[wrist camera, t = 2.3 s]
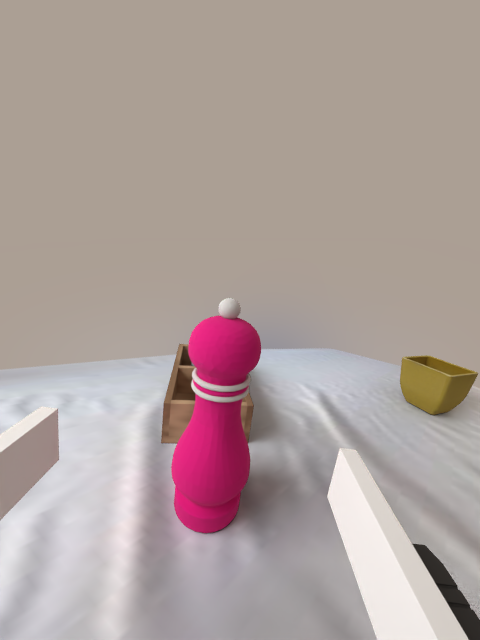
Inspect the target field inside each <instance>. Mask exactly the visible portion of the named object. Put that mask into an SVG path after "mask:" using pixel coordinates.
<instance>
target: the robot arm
mask: <svg viewBox="0 0 480 640" xmlns="http://www.w3.org/2000/svg"><path fill="white" fill-rule="evenodd" d="M58 460H59V439H58V409H56V408H48V407H40V408H38V409H37V410H35V411H34V412H33V413H31V414H30V415H28V416H27V417H25V418H24V419H22V420H21V421H19V422H18V423H17V424H15V425H14V426H12V427H11V428H9V429H8V430H6V431H5V432H3V433H2V434H1V435H0V520H1V519H2V518H3V517H4V516H5V515H6V514H7V513H8V512H9V511H10V510H11V509H12V508H13V507H14V506H15V505H16V504H17V502H18V501H19V500H20V499H21V498H22V497H23V496H24V495H25V494H26V493H27V492H28V491H29V490H30V489H31V488H32V487H33V486H34V485H35V484H36V483H37V482H38V481H39V480H40V479H41V478H42V477H43V476H44V475H45V473H46V472H47V471H48V470H49V469H50V468H51V467H52V466H53V465H54V464H55V463H56V462H57V461H58ZM327 497H328V500H329V503H330V506H331V509H332V511H333V514H334V517H335V520H336V523H337V526H338V529H339V532H340V534H341V537H342V540H343V543H344V546H345V549H346V552H347V554H348V557H349V560H350V563H351V566H352V569H353V572H354V574H355V577H356V580H357V583H358V586H359V589H360V592H361V595H362V597H363V600H364V603H365V606H366V609H367V612H368V615H369V617H370V620H371V623H372V626H373V629H374V632H375V635H376V638H377V640H480V620H479V618H478V617H477V615H476V614H475V612H474V611H473V610H471V608H470V605H469V603H468V602H467V600H466V599H465V597H464V595H463V594H462V592H461V591H460V590H458V588H457V585H456V583H455V582H454V580H453V579H452V577H451V576H450V574H449V573H448V571H447V570H446V568H445V567H444V565H443V564H442V563H441V562H440V561H439V560H438V558H437V557H436V556H435V555H434V554H433V553H432V552H431V551H430V550H429V549H428V548H427V547H426V546H425V545H418V544H412V543H411V541H410V540H409V538H408V536H407V535H406V533H405V531H404V530H403V528H402V526H401V525H400V523H399V521H398V520H397V518H396V516H395V514H394V513H393V511H392V509H391V508H390V506H389V504H388V503H387V501H386V499H385V498H384V496H383V494H382V493H381V491H380V489H379V488H378V486H377V484H376V482H375V481H374V479H373V477H372V476H371V474H370V472H369V471H368V469H367V467H366V466H365V464H364V462H363V461H362V459H361V457H360V456H359V454H358V452H357V450H352V449H345V448H340V449H339V453H338V457H337V461H336V465H335V468H334V472H333V476H332V480H331V484H330V488H329V492H328V495H327Z"/></svg>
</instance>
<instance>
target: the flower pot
mask: <svg viewBox="0 0 480 640" xmlns="http://www.w3.org/2000/svg"><path fill="white" fill-rule="evenodd" d="M477 375H478V373H477V372H474V371H472V370H468V369H466V368H463V367H460V366H457V365H454V364H451V363H448V362H445V361H443V360H440V359H437V358H434V357H431V356H411V357H403V358H402V366H401V375H400V384H401V389H402V393H403V395H404V397H405V399H406V401H407V402H409V403H411V404H413V405H415V406H416V407H418V408H420V409H422V410H424V411H426V412H427V413H429V414H432V415H435V414H440V413H445V412H448V411H450V410H451V409H453V408H455V407H456V406H457V405H458V404H460V403H461V402H462V401H463V400H464V398H465V397H466V396H467V394H468V392H469V390H470V389H471V387H472V385H473V383H474V381H475V379H476V377H477Z"/></svg>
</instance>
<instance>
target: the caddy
mask: <svg viewBox="0 0 480 640" xmlns="http://www.w3.org/2000/svg"><path fill="white" fill-rule="evenodd" d="M188 346H189V345H185V344H180V345H179V347H178V351H177V355H176V359H175V363H174V366H173V370H172V374H171V378H170V382H169V385H168V389H167V393H166V397H165V401H164V408H163V424H162V440H161V443H178V441H179V439H180V437H181V436H182V434H183V432H184V431H185V429H186V428H187V426H188V424H189V422H190V420H191V417H192V415H193V411H194V406H195V396H196V393H195V392H194V391H193V389H192V387H191V383H192V380H193V378H192V372H193V370H194V369H195V368H196V367H195V366H191V360H190V357H189V352H188ZM253 407H254V405H253V402H252V400H251V397H250V394H249V392H248V394H247V396H245V397H244V398H243V400H242V404H241V421H242V426H243V430H244V434H245V437H246V440H247V443H248V440H249V433H250V427H251V420H252V414H253Z"/></svg>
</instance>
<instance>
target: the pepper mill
mask: <svg viewBox="0 0 480 640" xmlns="http://www.w3.org/2000/svg"><path fill="white" fill-rule="evenodd" d="M239 313H240V305H239V303H238V301H236V300H235V299H233V298H227V299H224V300H223V301H222V302H221V303H220V304H219V314H220V315H221V316H214V317H210V318H208V319H205V320H203V321H202V322H201V323H199V324H198V325H197V326H196V327H195V329H194V330H193V332H192V334H191V337H190V340H189V346H188V352H189V357H190V360H191V362H192V363H193V364H194V366H195V367H196V368H195V369H194V370H193V372H192V378H193V380H192V383H191V387H192V389H193V391H194V392H195V393H196V396H195V406H194V411H193V415H192V417H191V420H190V422H189V424H188V426H187V428H186V429H185V431H184V432H183V434H182V436H181V437H180V439H179V441H178V443H177V446H176V448H175V451H174V455H173V460H172V478H173V481H174V483H175V485H176V487H175V499H174V506H175V511H176V514H177V516H178V518H179V519H180V521H181V522H182V523H183V524H184V525H185V526H186V527H188V528H190V529H192V530H194V531H196V532H202V533H211V532H215V531H218V530H221V529H223V528H224V527H226V526H227V525H228V524H229V523H230V522H231V521H232V520H233V519H234V517H235V515H236V513H237V511H238V507H239V501H240V494H241V490H242V489H243V488H244V486H245V484H246V482H247V480H248V476H249V469H250V455H249V447H248V443H247V440H246V437H245V434H244V430H243V426H242V421H241V404H242V400H243V398H244V397H245V396H247V394H248V392H249V384H250V381H251V377H250V375H249V372H250V371H251V370H253V369H254V368H255V366H256V365H257V363H258V361H259V359H260V354H261V343H260V338H259V335H258V333H257V331H256V330H255V329H254V328H253V327H252V326H251V324H249V323H247V322H246V321H244V320H242V319H240V318H237V316H238V315H239Z"/></svg>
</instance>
